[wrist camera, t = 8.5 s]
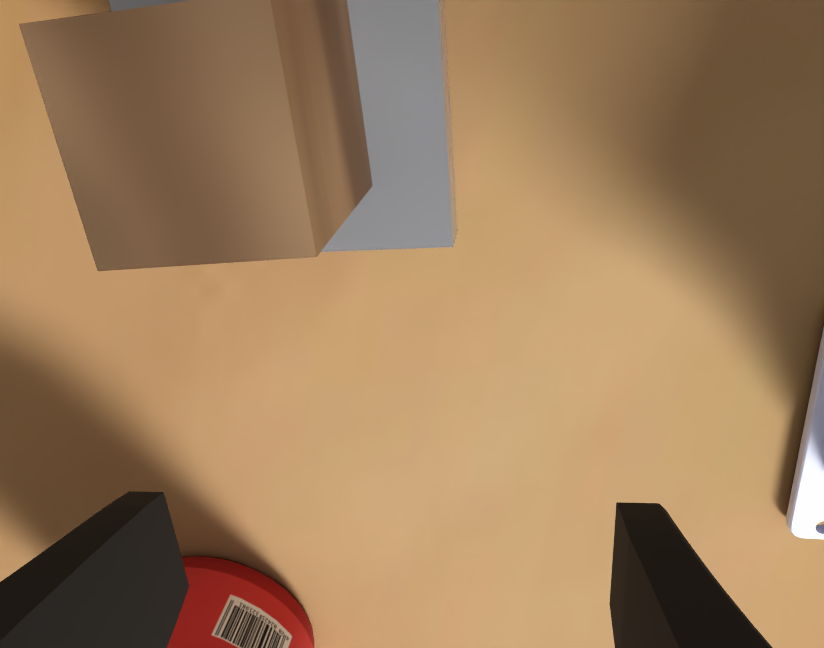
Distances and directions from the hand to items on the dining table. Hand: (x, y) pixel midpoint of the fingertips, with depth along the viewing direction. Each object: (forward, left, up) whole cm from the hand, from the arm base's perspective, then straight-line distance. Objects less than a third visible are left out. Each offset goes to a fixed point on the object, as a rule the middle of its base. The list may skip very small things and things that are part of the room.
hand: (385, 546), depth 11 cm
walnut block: (+4, -6, -9) cm, 11 cm away
